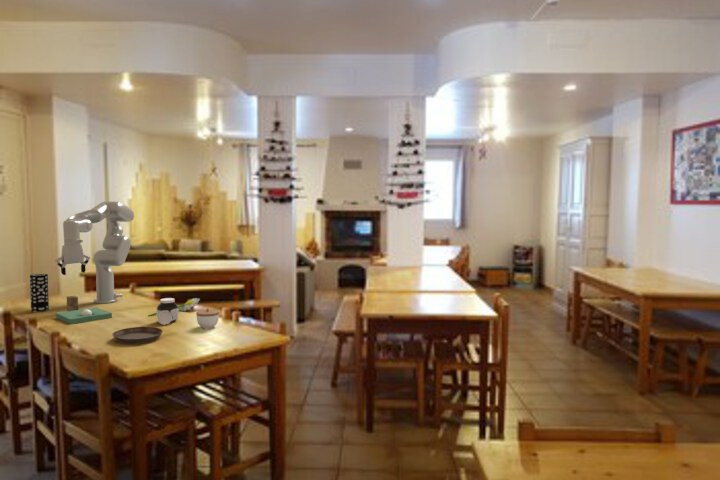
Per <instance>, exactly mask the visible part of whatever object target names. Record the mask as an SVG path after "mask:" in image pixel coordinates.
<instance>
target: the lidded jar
mask: <svg viewBox="0 0 720 480" xmlns="http://www.w3.org/2000/svg"><path fill="white" fill-rule="evenodd" d="M195 314H196V321H197V324H198V325H199V326H200V328H201V327H202V328H201V329H203V328H210V329H214V328H215V326H217V324H218V322H219V316H220V311H219V310H218V309H209V308H206V309H201V310H198V311H196V313H195ZM213 327H214V328H213Z"/></svg>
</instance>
